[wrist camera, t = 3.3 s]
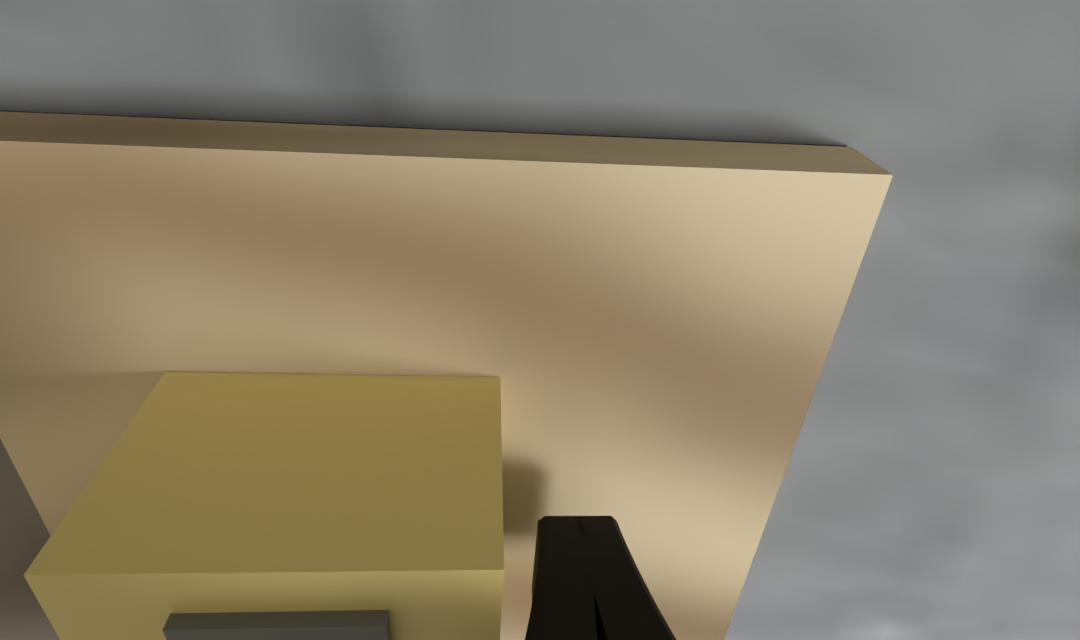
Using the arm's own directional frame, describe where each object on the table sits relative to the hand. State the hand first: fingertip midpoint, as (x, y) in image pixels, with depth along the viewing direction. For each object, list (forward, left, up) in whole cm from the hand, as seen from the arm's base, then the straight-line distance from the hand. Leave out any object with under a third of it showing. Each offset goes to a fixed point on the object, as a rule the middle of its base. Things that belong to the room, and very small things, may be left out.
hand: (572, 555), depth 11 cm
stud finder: (0, +4, -1) cm, 4 cm away
